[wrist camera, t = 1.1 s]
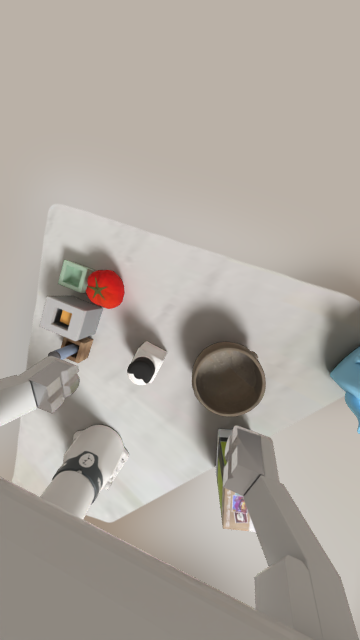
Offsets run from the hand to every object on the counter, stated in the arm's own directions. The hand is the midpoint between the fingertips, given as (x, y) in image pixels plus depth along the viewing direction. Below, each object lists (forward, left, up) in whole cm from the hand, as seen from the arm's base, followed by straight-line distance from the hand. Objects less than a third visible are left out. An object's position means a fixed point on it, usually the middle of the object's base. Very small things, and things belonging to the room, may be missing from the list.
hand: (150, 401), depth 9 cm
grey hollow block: (-12, +29, -43) cm, 53 cm away
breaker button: (-12, +29, -39) cm, 50 cm away
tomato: (-2, +22, -44) cm, 49 cm away
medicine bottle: (-16, +6, -44) cm, 47 cm away
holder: (-21, +27, -43) cm, 55 cm away
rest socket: (-2, +32, -43) cm, 54 cm away
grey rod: (-21, +27, -42) cm, 54 cm away
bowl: (-11, -14, -44) cm, 47 cm away
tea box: (-34, -27, -44) cm, 62 cm away
